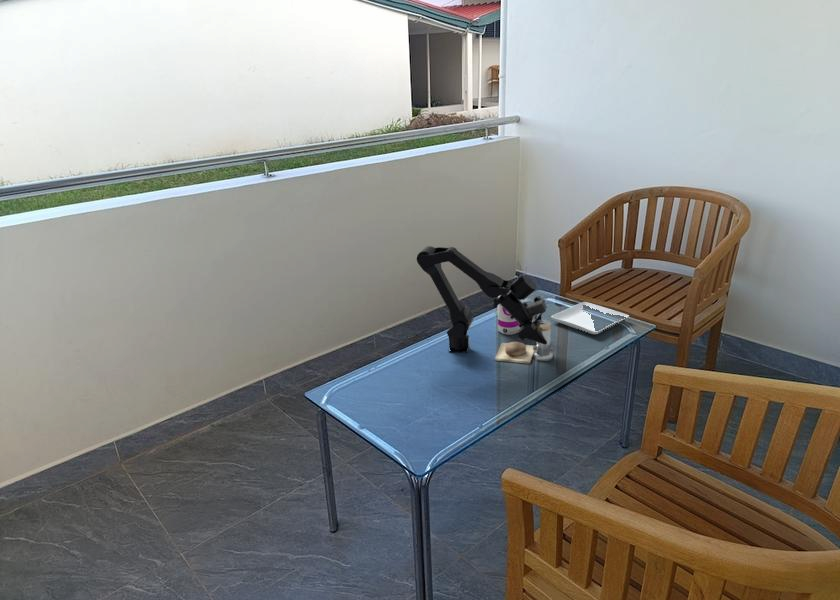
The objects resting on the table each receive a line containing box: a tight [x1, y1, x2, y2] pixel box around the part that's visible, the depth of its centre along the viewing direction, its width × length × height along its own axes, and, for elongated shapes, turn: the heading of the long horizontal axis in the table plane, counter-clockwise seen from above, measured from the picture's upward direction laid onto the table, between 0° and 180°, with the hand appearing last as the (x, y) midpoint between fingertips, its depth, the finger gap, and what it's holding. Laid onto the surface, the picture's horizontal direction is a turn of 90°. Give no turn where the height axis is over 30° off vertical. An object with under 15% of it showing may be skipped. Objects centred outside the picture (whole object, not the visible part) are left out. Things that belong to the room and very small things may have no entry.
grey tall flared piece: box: [532, 318, 554, 362], centre depth 203 cm, size 7×6×13 cm
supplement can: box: [497, 295, 520, 335], centre depth 223 cm, size 8×8×15 cm
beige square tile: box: [494, 341, 535, 364], centre depth 208 cm, size 12×12×3 cm
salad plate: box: [551, 301, 630, 335], centre depth 228 cm, size 21×21×3 cm
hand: (547, 339), depth 202 cm, fingers open, 6 cm apart
